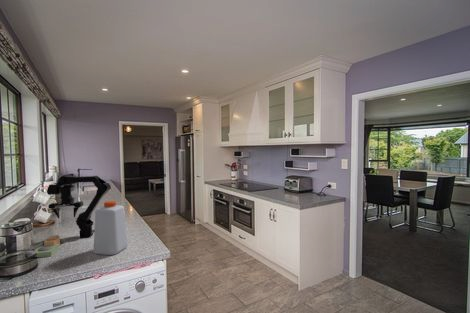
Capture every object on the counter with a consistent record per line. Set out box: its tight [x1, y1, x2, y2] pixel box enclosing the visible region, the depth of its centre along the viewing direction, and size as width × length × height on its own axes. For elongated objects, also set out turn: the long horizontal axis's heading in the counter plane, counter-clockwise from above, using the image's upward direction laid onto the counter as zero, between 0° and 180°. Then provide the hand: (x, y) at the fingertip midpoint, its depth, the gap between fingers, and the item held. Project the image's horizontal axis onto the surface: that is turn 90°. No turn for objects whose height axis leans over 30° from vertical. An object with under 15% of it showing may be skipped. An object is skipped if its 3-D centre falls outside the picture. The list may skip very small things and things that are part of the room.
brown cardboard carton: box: [43, 234, 61, 246], centre depth 152 cm, size 5×8×6 cm, turn 15°
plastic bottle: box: [93, 200, 129, 256], centre depth 147 cm, size 15×15×28 cm
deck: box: [33, 238, 66, 258], centre depth 148 cm, size 13×21×3 cm, turn 15°
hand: (66, 217), depth 169 cm, fingers open, 9 cm apart
